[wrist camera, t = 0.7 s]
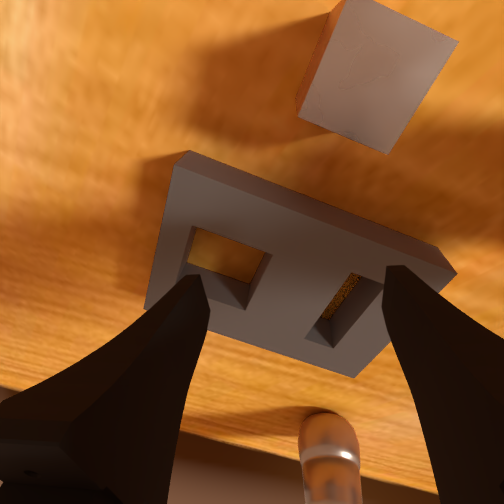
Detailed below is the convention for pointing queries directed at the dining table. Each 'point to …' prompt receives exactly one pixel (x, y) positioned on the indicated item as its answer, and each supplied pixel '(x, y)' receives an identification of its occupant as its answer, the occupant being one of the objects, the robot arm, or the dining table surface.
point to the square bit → (370, 72)
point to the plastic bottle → (329, 460)
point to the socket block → (287, 265)
